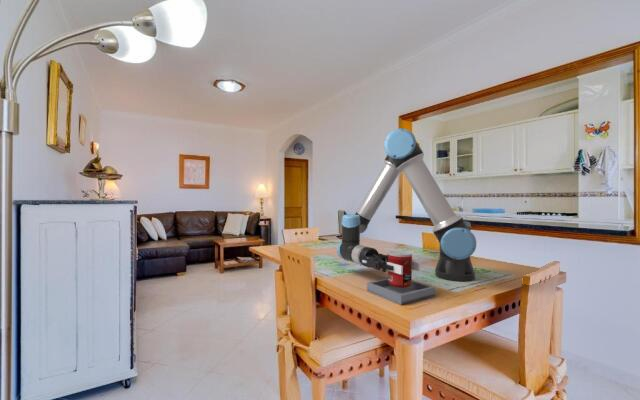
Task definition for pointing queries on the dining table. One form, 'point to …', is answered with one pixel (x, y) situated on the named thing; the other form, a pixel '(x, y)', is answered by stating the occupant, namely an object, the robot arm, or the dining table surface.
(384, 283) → the tray
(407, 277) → the canned food
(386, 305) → the dining table surface
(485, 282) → the dining table surface
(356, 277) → the dining table surface
